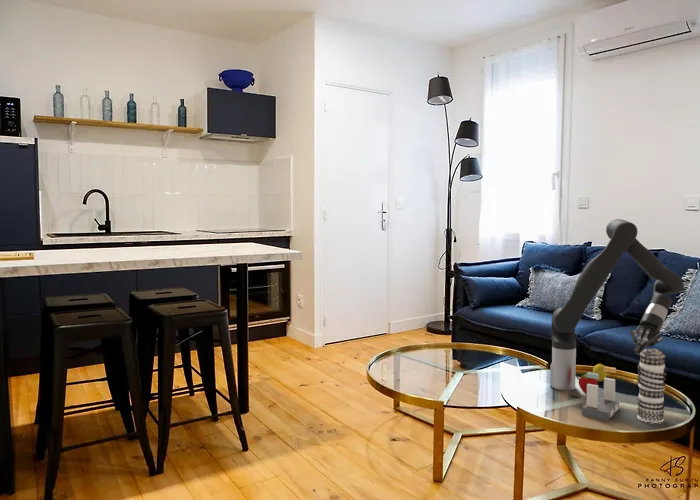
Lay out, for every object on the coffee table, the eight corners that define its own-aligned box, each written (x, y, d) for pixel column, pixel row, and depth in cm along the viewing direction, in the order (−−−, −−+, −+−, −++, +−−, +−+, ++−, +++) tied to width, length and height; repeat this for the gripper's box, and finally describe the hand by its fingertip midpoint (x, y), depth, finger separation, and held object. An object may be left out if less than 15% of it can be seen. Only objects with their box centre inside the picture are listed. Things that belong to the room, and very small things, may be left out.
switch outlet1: (586, 406, 206) (586, 373, 205) (587, 404, 208) (588, 372, 207) (597, 408, 204) (597, 375, 203) (598, 406, 205) (599, 373, 204)
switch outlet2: (603, 399, 213) (603, 367, 212) (604, 398, 214) (605, 366, 213) (614, 401, 210) (614, 369, 209) (615, 400, 212) (615, 368, 211)
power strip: (581, 415, 207) (581, 407, 206) (596, 400, 221) (596, 392, 221) (608, 421, 201) (609, 412, 200) (622, 405, 215) (622, 397, 215)
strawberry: (600, 396, 225) (601, 372, 224) (584, 398, 223) (584, 374, 222) (591, 392, 230) (591, 368, 230) (575, 393, 229) (575, 369, 228)
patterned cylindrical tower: (645, 412, 208) (646, 345, 206) (670, 420, 200) (672, 351, 198) (630, 417, 203) (632, 349, 201) (656, 426, 195) (658, 355, 193)
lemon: (608, 384, 240) (608, 365, 239) (594, 383, 241) (594, 365, 240) (605, 380, 245) (605, 361, 244) (591, 379, 246) (591, 361, 245)
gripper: (634, 309, 230) (617, 345, 224) (667, 314, 219) (650, 351, 213) (641, 320, 233) (624, 355, 227) (674, 325, 222) (657, 362, 216)
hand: (637, 353), depth 220 cm, fingers closed
